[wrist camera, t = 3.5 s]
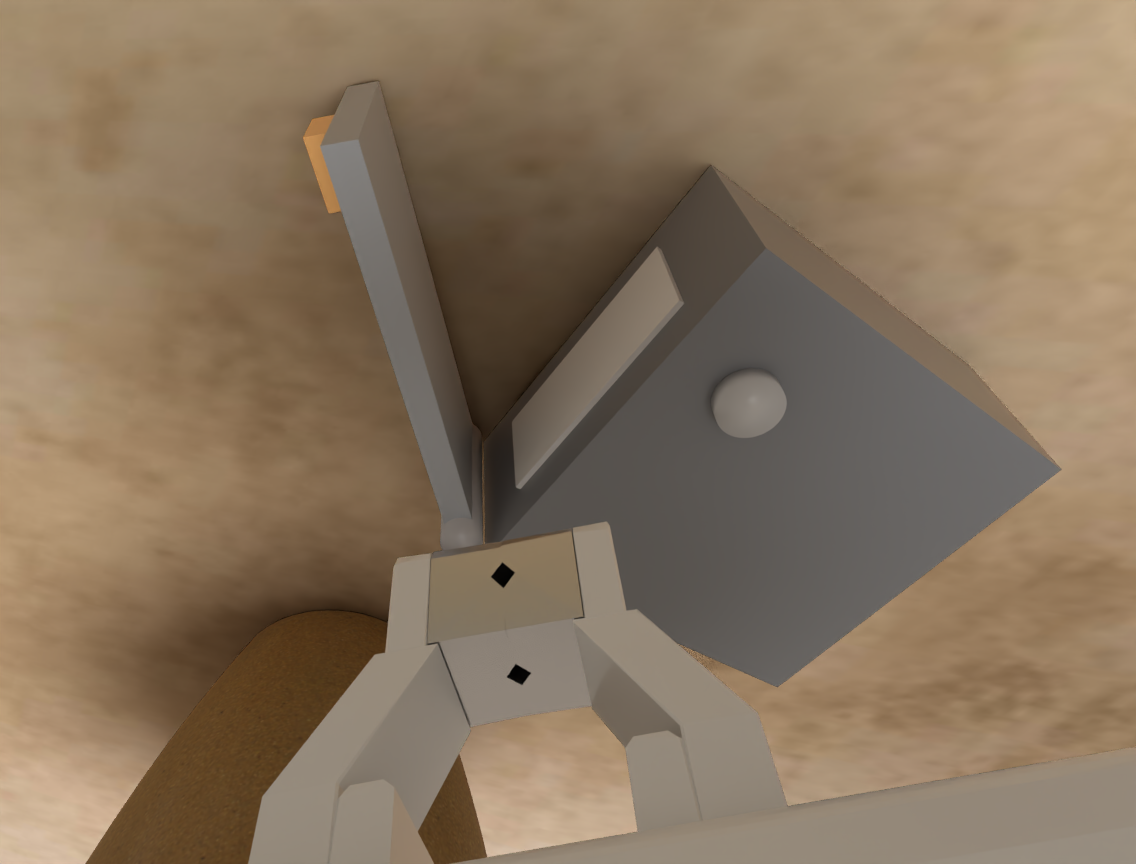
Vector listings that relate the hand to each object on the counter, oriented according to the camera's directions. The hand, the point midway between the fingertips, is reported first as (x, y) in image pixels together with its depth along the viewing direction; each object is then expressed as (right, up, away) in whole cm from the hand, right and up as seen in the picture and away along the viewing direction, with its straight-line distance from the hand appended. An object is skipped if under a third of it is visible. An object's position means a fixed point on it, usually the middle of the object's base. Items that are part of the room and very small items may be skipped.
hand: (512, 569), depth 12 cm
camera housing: (+6, +3, +16) cm, 18 cm away
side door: (-4, +6, +13) cm, 14 cm away
